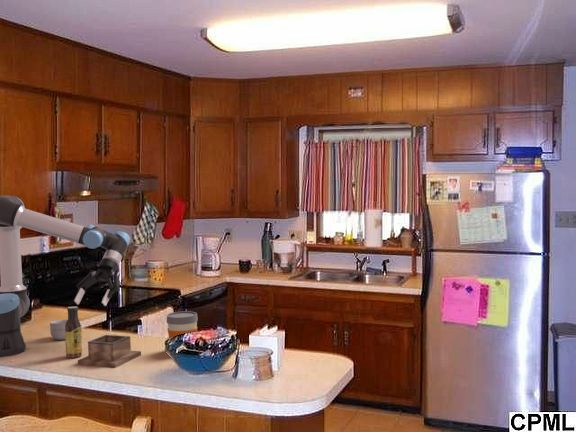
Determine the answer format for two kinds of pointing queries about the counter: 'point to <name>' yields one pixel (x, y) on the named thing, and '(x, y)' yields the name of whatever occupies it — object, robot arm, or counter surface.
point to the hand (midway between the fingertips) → (89, 303)
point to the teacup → (58, 329)
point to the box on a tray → (109, 351)
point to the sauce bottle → (73, 334)
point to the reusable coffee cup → (181, 322)
